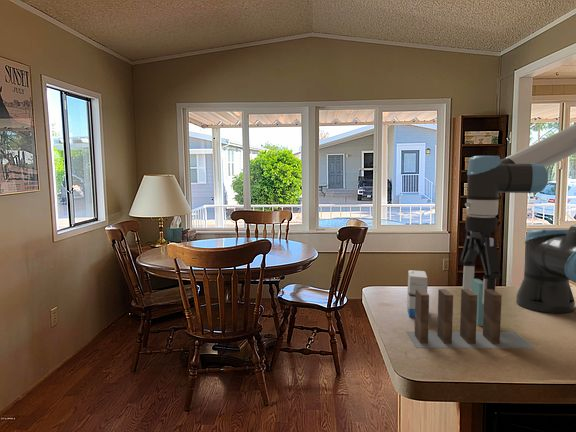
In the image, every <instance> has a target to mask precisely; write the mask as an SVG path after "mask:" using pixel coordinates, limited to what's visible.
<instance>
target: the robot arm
mask: <svg viewBox="0 0 576 432" xmlns="http://www.w3.org/2000/svg"><path fill="white" fill-rule="evenodd" d="M574 154H576V123H575V124H572V125H570V126H568V127H566V128H564V129H562V130H561V131H558V132H556V133H554V134H552V135H550V136H548V137H546V138H543V139H542V140H540V141H538V142H536V143H533V144H531V145H529V146H527V147H525V148H522V149H520V150H518V151H517V152H515V153H513V154H511V155H508V156H506V157H504V158H502V159H501V157H500V156H499V155H474V156H471V157H470V158H469V160H468V167H467V172H466V175H467V184H466V185H467V188H466V189H467V190H466V202H465V203H464V206H465V207H466V212H465V213H466V217H465V224H464V225H465V228H464V229H465V230H466V232H465V239H464V243H463V248H462V252H461V256H460V262H462V265H463V271H462V273H463V274H462V275H463V277H462V289H470V290H471V287H472V279H475V268H476V267H475V266H476V259H477V257H478V255H479V256H480V260H481V264H482V268H483V272H484V275H483V276H482V279H483V280H482V281H483V299H482V303H483V304H484V290H485V289H493V290H494V291H496V284H497V283H496V282H497V279H501V278H502V274H501V266H500V261H499V253H498V246H497V243H498V241H497V237H491V233H495V232H497V230H498V218H497V215H499V204H500V203H499V201H500V200H499V197H500V196H499V195H500V194H501V193H502V194H503V193H506V194H507V193H511V194H529V195H530V194H535V193H541V192H543V191H544V190H545V188H546V187H547V185H548V183H549V173H548V170H547V167H550V166H552V165H555V164H556V163H558V162H560V161H562V160H565V159H566V158H569V157H571V156H573V155H574ZM524 244H525V245H524V246H525V247H524V266H523V269H524V270H523V279H522V282H521V284H520V286H519V288H518V290H517V293H516V299H515V302H516V303H517V305H519V306H521V307H523V308H525V309H529V310H533V311H538V312H542V313H552V314H554V313H555V314H562V313H563V314H564V313H571V312H573V311H574V310H575V305H576V302H575V301H576V300H575V297H574V295H573V290H572V288H571V285H570V281H571V282H573V283H575V284H576V224H575V223H574V224H571V225H570V226H569V228H567V229H563V228H562V229H558V228H557V229H553V228H552V229H550V228H549V229H546V228H545V229H530V230H528V231H527V232H526V235H525V240H524Z"/></svg>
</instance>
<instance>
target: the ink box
mask: <svg viewBox="0 0 576 432" xmlns="http://www.w3.org/2000/svg"><path fill="white" fill-rule="evenodd" d="M407 273H408V274H407V276H408V277H407V297H406V299H407V300H406V301H407V302H406V310H407V313H408V317H409V318H415V297H416V289H424V290H425V291H426V292H427V293H428V275H427V273H426V271H424V270H414V269H413V270H411V269H409V270H408V272H407Z"/></svg>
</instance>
